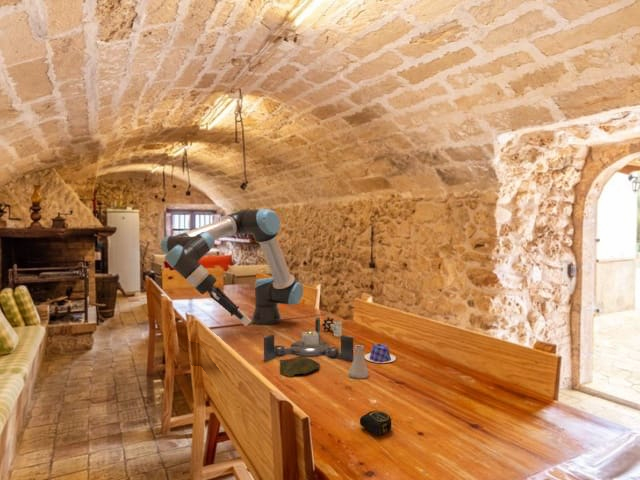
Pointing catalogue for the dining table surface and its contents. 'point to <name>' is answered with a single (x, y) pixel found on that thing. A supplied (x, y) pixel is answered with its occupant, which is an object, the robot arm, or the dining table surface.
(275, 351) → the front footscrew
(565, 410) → the dining table surface
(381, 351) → the pudding
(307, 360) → the pottery fragment
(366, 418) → the tape measure
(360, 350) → the flask
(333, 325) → the valve
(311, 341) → the tribrach
